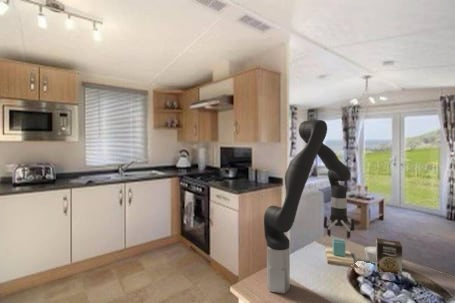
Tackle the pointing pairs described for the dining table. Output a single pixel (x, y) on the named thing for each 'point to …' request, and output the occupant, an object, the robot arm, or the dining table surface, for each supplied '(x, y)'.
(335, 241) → the teal toy cube
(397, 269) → the coffee box
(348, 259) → the post block
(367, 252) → the ramekin
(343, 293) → the dining table surface
